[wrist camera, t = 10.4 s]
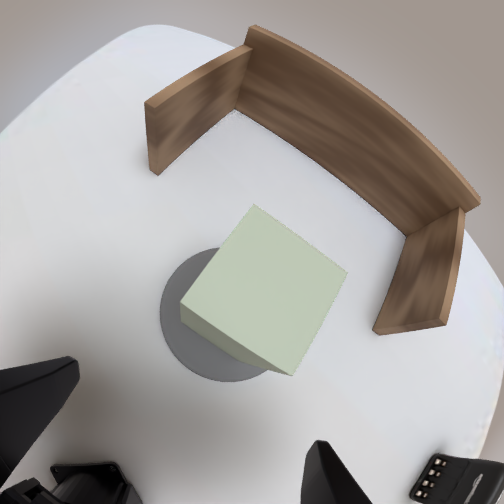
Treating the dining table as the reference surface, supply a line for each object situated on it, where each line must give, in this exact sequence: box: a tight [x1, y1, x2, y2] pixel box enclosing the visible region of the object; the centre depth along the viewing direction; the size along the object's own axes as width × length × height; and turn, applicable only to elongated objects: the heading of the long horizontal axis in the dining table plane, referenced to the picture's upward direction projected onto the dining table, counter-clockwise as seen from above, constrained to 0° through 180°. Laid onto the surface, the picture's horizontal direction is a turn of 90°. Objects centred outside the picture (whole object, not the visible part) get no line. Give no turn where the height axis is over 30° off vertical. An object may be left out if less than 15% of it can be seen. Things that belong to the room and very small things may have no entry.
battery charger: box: [410, 454, 504, 504], centre depth 14 cm, size 7×4×11 cm, turn 145°
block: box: [180, 204, 348, 376], centre depth 15 cm, size 5×5×10 cm
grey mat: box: [160, 248, 267, 382], centre depth 20 cm, size 10×10×1 cm
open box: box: [144, 25, 480, 335], centre depth 21 cm, size 12×25×10 cm, turn 56°
